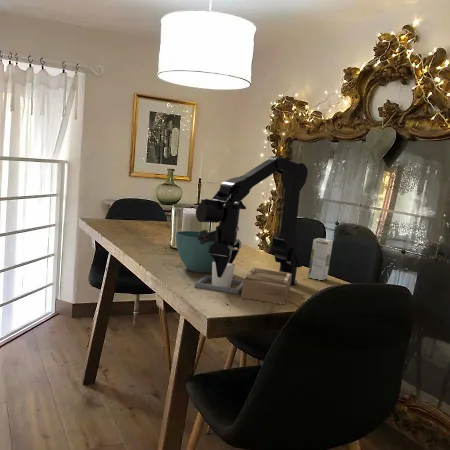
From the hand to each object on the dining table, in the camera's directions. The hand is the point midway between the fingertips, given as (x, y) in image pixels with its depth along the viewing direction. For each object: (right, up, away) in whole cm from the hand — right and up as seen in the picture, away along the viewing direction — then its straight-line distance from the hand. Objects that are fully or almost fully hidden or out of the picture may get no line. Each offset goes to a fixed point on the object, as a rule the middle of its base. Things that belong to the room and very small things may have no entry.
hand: (222, 274), depth 146 cm
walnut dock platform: (+13, -5, -3) cm, 14 cm away
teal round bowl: (-8, -1, +20) cm, 22 cm away
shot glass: (0, -4, 0) cm, 4 cm away
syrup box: (+34, -5, +29) cm, 45 cm away
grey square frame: (0, -4, 0) cm, 4 cm away
